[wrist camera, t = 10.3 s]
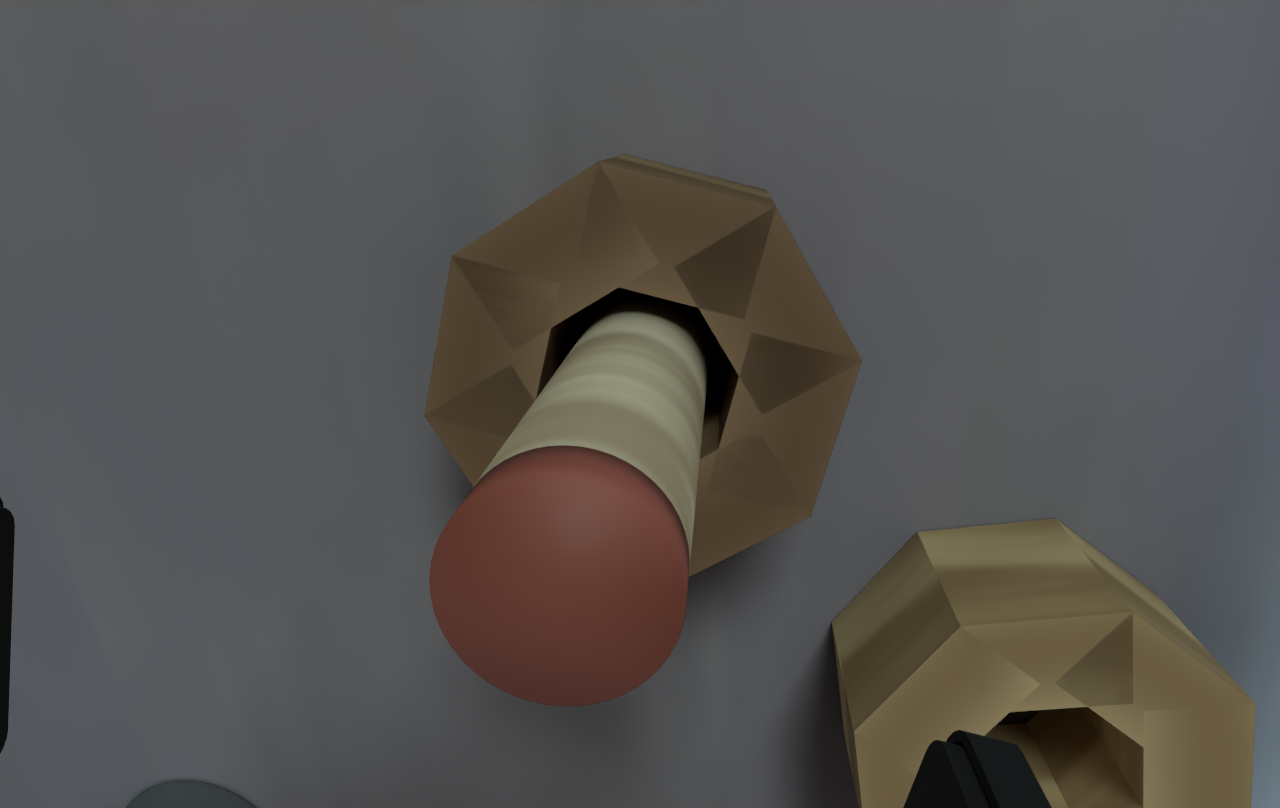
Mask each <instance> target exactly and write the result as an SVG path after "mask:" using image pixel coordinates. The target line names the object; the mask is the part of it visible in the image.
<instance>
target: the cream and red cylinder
mask: <svg viewBox="0 0 1280 808" xmlns="http://www.w3.org/2000/svg"><path fill="white" fill-rule="evenodd" d="M710 346H711V331H710V327H709V325H708V323H707V322H706V320H705V318H704V317H703V315H702V313H701V311H700V310H699V308H698V307H694V306H690V305H686V304H682V303H678V302H674V301H670V300H666V299H662V298H659V297H655V296H651V295H647V294H643V293H639V292H635V291H631V290H627V289H623V288H621V289H619V290H618V291H616V292H615V293H614V294H613V295H612V296H611V297H610V298H609V299H608V300H607V301H606V302H605V304H604V305H603V306H602V308H601V309H600V311H599V312H598V313H597V315H596V316H595V318H594V319H593V320H592V322H591V323H590V325H589V326H588V327H587V329H586V330H585V332H584V333H583V334H582V336H581V337H580V339H579V340H578V341H577V343H576V344H575V346H574V347H573V348H572V350H571V351H570V352H569V354H568V355H567V357H566V358H565V359H564V361H563V362H562V364H561V365H560V366H559V368H558V369H557V371H556V372H555V373H554V375H553V376H552V378H551V379H550V380H549V382H548V383H547V385H546V386H545V387H544V389H543V390H542V392H541V393H540V394H539V396H538V397H537V399H536V400H535V401H534V403H533V404H532V406H531V407H530V408H529V410H528V411H527V413H526V414H525V415H524V417H523V418H522V420H521V421H520V422H519V424H518V425H517V427H516V428H515V429H514V431H513V432H512V434H511V435H510V436H509V438H508V439H507V440H506V442H505V443H504V445H503V446H502V447H501V449H500V450H499V452H498V453H497V454H496V456H495V457H494V459H493V460H492V461H491V463H490V464H489V466H488V467H487V468H486V470H485V471H484V473H483V474H482V475H481V477H480V478H479V480H478V481H477V482H476V484H475V485H474V487H473V488H472V489H471V491H470V492H469V494H468V495H467V496H466V498H465V499H464V501H463V502H462V503H461V505H460V506H459V508H458V509H457V510H456V512H455V513H454V515H453V516H452V517H451V519H450V520H449V522H448V523H447V525H446V526H445V528H444V530H443V531H442V533H441V535H440V537H439V539H438V542H437V544H436V546H435V549H434V553H433V557H432V561H431V568H430V594H431V600H432V605H433V609H434V612H435V615H436V618H437V621H438V624H439V626H440V628H441V630H442V632H443V634H444V636H445V638H446V639H447V641H448V642H449V644H450V645H451V647H452V648H453V650H454V651H455V652H456V653H457V655H458V656H459V657H460V658H461V659H462V661H463V662H465V663H466V664H467V665H468V666H469V667H470V668H471V669H472V670H473V671H474V672H475V673H477V674H478V675H479V676H480V677H482V678H483V679H484V680H486V681H487V682H489V683H490V684H492V685H494V686H496V687H497V688H499V689H501V690H503V691H505V692H507V693H509V694H512V695H514V696H516V697H519V698H522V699H525V700H528V701H532V702H536V703H541V704H546V705H555V706H582V705H590V704H596V703H600V702H604V701H608V700H611V699H613V698H616V697H619V696H621V695H624V694H626V693H627V692H629V691H631V690H633V689H635V688H636V687H638V686H639V685H641V684H642V683H644V682H645V681H646V680H648V679H649V678H650V677H651V676H652V675H653V674H654V673H655V672H656V671H657V670H658V669H659V668H660V667H661V666H662V665H663V664H664V662H665V661H666V660H667V658H668V657H669V656H670V654H671V652H672V650H673V649H674V647H675V645H676V643H677V641H678V638H679V636H680V633H681V630H682V627H683V622H684V617H685V611H686V601H687V590H688V580H689V569H690V558H691V548H692V537H693V526H694V516H695V505H696V495H697V484H698V473H699V463H700V452H701V441H702V431H703V420H704V410H705V399H706V388H707V378H708V367H709V356H710Z"/></svg>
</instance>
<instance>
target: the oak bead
mask: <svg viewBox="0 0 1280 808" xmlns="http://www.w3.org/2000/svg"><path fill="white" fill-rule="evenodd" d="M832 628H833V638H834V647H835V656H836V665H837V674H838V684H839V693H840V702H841V711H842V720H843V730H844V735H845V741H846V746H847V751H848V757H849V762H850V767H851V773H852V778H853V784H854V789H855V794H856V800H857V805H858V808H903V807H904V804H905V802H906V799H907V797H908V795H909V792H910V790H911V787H912V785H913V782H914V780H915V777H916V775H917V772H918V770H919V767H920V765H921V762H922V760H923V757H924V755H925V752H926V750H927V748H928V746H929V745H930V744H931V743H932V742H933V741H935V740H940V741H944V742H946V740H947V739H948V737H949V736H950V735H951V734H952V733H953V732H954V731H957V730H962V731H966V732H970V733H974V734H978V735H982V736H986V737H990V738H994V739H998V740H1002V741H1006V742H1010V743H1013V744H1015V745H1017V746H1018V747H1019V748H1020V750H1021V751H1022V752H1023V754H1024V756H1025V758H1026V760H1027V762H1028V763H1029V765H1030V767H1031V769H1032V771H1033V773H1034V775H1035V777H1036V779H1037V781H1038V782H1039V784H1040V786H1041V788H1042V790H1043V792H1044V794H1045V796H1046V798H1047V800H1048V801H1049V803H1050V805H1051V807H1052V808H1251V794H1252V772H1253V749H1254V726H1255V703H1254V701H1253V700H1252V699H1251V698H1250V697H1249V696H1248V695H1247V694H1246V693H1245V692H1244V690H1243V689H1242V688H1241V687H1240V686H1239V685H1238V684H1237V683H1236V682H1235V681H1234V679H1233V678H1232V677H1231V676H1230V675H1229V674H1228V673H1227V672H1226V671H1225V670H1224V668H1223V667H1222V666H1221V665H1220V664H1219V663H1218V662H1217V661H1216V660H1215V659H1214V657H1213V656H1212V655H1211V654H1210V653H1209V652H1208V651H1207V650H1206V649H1205V648H1204V646H1203V645H1202V644H1201V643H1200V642H1199V641H1198V640H1197V639H1196V638H1195V637H1194V635H1193V634H1192V633H1191V632H1190V631H1189V630H1188V629H1187V628H1186V627H1185V626H1184V624H1183V623H1182V622H1181V621H1180V620H1179V619H1178V618H1177V617H1176V616H1175V615H1174V613H1173V612H1172V611H1171V610H1170V609H1169V608H1168V607H1167V606H1166V605H1165V604H1164V602H1163V601H1162V600H1161V599H1160V598H1159V597H1158V596H1157V595H1156V594H1155V593H1153V592H1152V591H1151V590H1150V589H1148V588H1147V587H1146V586H1144V585H1143V584H1142V583H1140V582H1139V581H1138V580H1136V579H1135V578H1134V577H1132V576H1131V575H1130V574H1128V573H1127V572H1126V571H1124V570H1123V569H1122V568H1120V567H1119V566H1118V565H1116V564H1115V563H1114V562H1112V561H1111V560H1110V559H1108V558H1107V557H1106V556H1104V555H1103V554H1102V553H1100V552H1099V551H1098V550H1096V549H1095V548H1094V547H1092V546H1091V545H1090V544H1088V543H1087V542H1086V541H1084V540H1083V539H1082V538H1080V537H1079V536H1078V535H1077V534H1075V533H1074V532H1073V531H1071V530H1070V529H1069V528H1067V527H1066V526H1065V525H1063V524H1062V523H1061V522H1059V521H1058V520H1057V519H1056V518H1055V519H1045V520H1035V521H1025V522H1015V523H1005V524H994V525H984V526H974V527H964V528H954V529H944V530H933V531H923V532H917V533H916V534H915V535H914V536H913V537H912V538H911V539H910V540H909V541H908V542H907V543H906V545H905V546H904V547H903V548H902V549H901V550H900V551H899V552H898V553H897V554H896V555H895V556H894V557H893V558H892V559H891V560H890V561H889V562H888V563H887V565H886V566H885V567H884V568H883V569H882V570H881V571H880V572H879V573H878V574H877V575H876V576H875V577H874V578H873V579H872V580H871V581H870V582H869V583H868V585H867V586H866V587H865V588H864V589H863V590H862V591H861V592H860V593H859V594H858V595H857V596H856V597H855V598H854V599H853V600H852V601H851V602H850V603H849V605H848V606H847V607H846V608H845V609H844V610H843V611H842V612H841V613H840V614H839V615H838V616H837V617H836V618H835V619H834V620H833V621H832ZM1034 710H1040V711H1039V712H1037V713H1036V714H1035V715H1034V716H1033V717H1032V718H1031V719H1030V720H1029V721H1028V722H1027V723H1017V724H1002V725H997V724H998V723H999V722H1000V721H1001V720H1002V719H1003V718H1004V717H1005V716H1006V715H1007V714H1009V713H1010V712H1020V711H1034Z"/></svg>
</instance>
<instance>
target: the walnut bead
mask: <svg viewBox="0 0 1280 808" xmlns="http://www.w3.org/2000/svg"><path fill="white" fill-rule="evenodd" d="M618 287H620V288H623V289H627V290H631V291H635V292H639V293H643V294H647V295H651V296H655V297H659V298H662V299H666V300H670V301H674V302H678V303H682V304H686V305H690V306H694V307H698V308H699V310H700V311H701V313H702V315H703V317H704V318H705V320H706V322H707V323H708V325H709V327H710V328H711V330H712V332H713V333H714V335H715V337H716V338H717V340H718V342H719V343H720V345H721V347H722V348H723V350H724V352H725V353H726V355H727V357H728V363H727V366H726V370H725V373H724V377H723V381H722V384H721V387H720V388H718V389H716V390H714V391H712V392H710V393H709V394H707V395H706V399H705V410H704V420H703V431H702V441H701V452H700V463H699V473H698V484H697V495H696V505H695V516H694V526H693V537H692V548H691V558H690V569H689V577H690V576H692V575H694V574H696V573H698V572H700V571H702V570H704V569H706V568H708V567H710V566H712V565H714V564H716V563H718V562H720V561H722V560H724V559H726V558H728V557H730V556H732V555H734V554H736V553H738V552H740V551H742V550H744V549H746V548H748V547H750V546H752V545H754V544H756V543H758V542H760V541H762V540H764V539H766V538H768V537H770V536H772V535H774V534H776V533H778V532H780V531H782V530H784V529H786V528H788V527H790V526H792V525H794V524H796V523H798V522H800V521H802V520H804V519H806V518H808V517H810V516H811V513H812V510H813V507H814V504H815V501H816V498H817V495H818V492H819V489H820V486H821V483H822V480H823V477H824V474H825V471H826V468H827V465H828V462H829V459H830V456H831V453H832V450H833V447H834V444H835V441H836V438H837V435H838V432H839V429H840V425H841V422H842V419H843V416H844V413H845V410H846V407H847V404H848V401H849V398H850V395H851V392H852V389H853V386H854V383H855V380H856V377H857V374H858V371H859V368H860V365H861V362H862V360H861V358H860V356H859V355H858V353H857V351H856V349H855V348H854V346H853V344H852V342H851V340H850V339H849V337H848V335H847V333H846V331H845V330H844V328H843V326H842V324H841V323H840V321H839V319H838V317H837V315H836V314H835V312H834V310H833V309H832V307H831V305H830V303H829V301H828V300H827V298H826V296H825V294H824V293H823V291H822V289H821V287H820V285H819V284H818V282H817V280H816V278H815V276H814V275H813V273H812V271H811V269H810V267H809V266H808V264H807V262H806V260H805V259H804V257H803V255H802V253H801V251H800V250H799V248H798V246H797V244H796V242H795V241H794V239H793V237H792V235H791V233H790V232H789V230H788V228H787V226H786V225H785V223H784V221H783V219H782V217H781V216H780V214H779V212H778V210H777V208H776V206H775V204H774V203H773V201H772V199H771V197H770V195H769V194H768V192H767V190H763V189H760V188H756V187H752V186H748V185H744V184H740V183H736V182H732V181H728V180H724V179H720V178H716V177H712V176H708V175H704V174H700V173H696V172H692V171H688V170H685V169H681V168H677V167H673V166H669V165H665V164H661V163H657V162H653V161H649V160H645V159H641V158H637V157H633V156H629V155H622V156H618V157H614V158H610V159H606V160H603V161H599V162H597V163H595V164H594V165H592V166H591V167H589V168H588V169H586V170H585V171H583V172H581V173H580V174H578V175H577V176H575V177H574V178H572V179H571V180H569V181H567V182H566V183H564V184H563V185H561V186H560V187H558V188H557V189H555V190H553V191H552V192H550V193H549V194H547V195H546V196H544V197H543V198H541V199H539V200H538V201H536V202H535V203H533V204H532V205H530V206H529V207H527V208H525V209H524V210H522V211H521V212H519V213H518V214H516V215H515V216H513V217H511V218H510V219H508V220H507V221H505V222H504V223H502V224H501V225H499V226H497V227H496V228H494V229H493V230H491V231H490V232H488V233H487V234H485V235H483V236H482V237H480V238H479V239H477V240H476V241H474V242H473V243H471V244H469V245H468V246H466V247H465V248H463V249H462V250H460V251H459V252H457V253H455V254H454V255H452V258H451V264H450V269H449V275H448V281H447V287H446V293H445V299H444V305H443V310H442V316H441V322H440V328H439V334H438V340H437V346H436V351H435V357H434V363H433V369H432V375H431V381H430V386H429V392H428V398H427V404H426V410H425V417H426V419H427V420H428V422H429V423H430V425H431V426H432V427H433V429H434V430H435V432H436V433H437V435H438V436H439V438H440V439H441V441H442V442H443V443H444V445H445V446H446V448H447V449H448V451H449V452H450V454H451V455H452V456H453V458H454V459H455V461H456V462H457V464H458V465H459V467H460V468H461V470H462V471H463V472H464V474H465V475H466V477H467V478H468V480H469V481H470V483H471V484H472V485H473V487H474V485H475V484H476V482H477V481H478V480H479V478H480V477H481V475H482V474H483V473H484V471H485V470H486V468H487V467H488V466H489V464H490V463H491V461H492V460H493V459H494V457H495V456H496V454H497V453H498V452H499V450H500V449H501V447H502V446H503V445H504V443H505V442H506V440H507V439H508V438H509V436H510V435H511V434H512V432H513V431H514V429H515V428H516V427H517V425H518V424H519V422H520V421H521V420H522V418H523V417H524V415H525V414H526V413H527V411H528V410H529V408H530V407H531V406H532V404H533V403H534V401H535V400H536V399H537V397H538V396H539V394H540V393H541V392H542V390H543V389H544V387H545V386H546V385H547V383H548V382H549V380H550V379H551V378H552V376H553V375H554V373H555V372H556V371H557V369H558V368H559V366H560V365H561V364H562V362H563V361H564V359H565V358H566V357H567V355H568V354H569V352H570V351H571V350H572V348H573V347H574V343H575V338H576V334H577V329H578V325H579V320H580V316H581V311H582V309H583V308H585V307H587V306H588V305H590V304H592V303H593V302H595V301H597V300H598V299H600V298H602V297H603V296H605V295H607V294H608V293H610V292H612V291H613V290H615V289H617V288H618Z"/></svg>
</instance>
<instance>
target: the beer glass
mask: <svg viewBox="0 0 1280 808" xmlns="http://www.w3.org/2000/svg"><path fill="white" fill-rule="evenodd" d="M126 808H254V807H253V806H252V805H250V804H249V803H248V802H246V801H245V800H243V799H242V798H240V797H239V796H237V795H235V794H233V793H231V792H229V791H227V790H225V789H222V788H220V787H217V786H214V785H211V784H207V783H202V782H195V781H171V782H165V783H161V784H158V785H155V786H152V787H150V788H148V789H146V790H145V791H143V792H142V793H140V794H139V795H137V796H136V797H135V798H134V799H133V800H132V801H131V802H130V803H129V804H128V805H127V806H126Z"/></svg>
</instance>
